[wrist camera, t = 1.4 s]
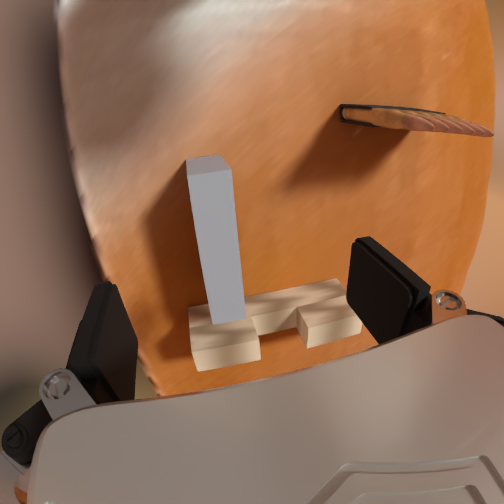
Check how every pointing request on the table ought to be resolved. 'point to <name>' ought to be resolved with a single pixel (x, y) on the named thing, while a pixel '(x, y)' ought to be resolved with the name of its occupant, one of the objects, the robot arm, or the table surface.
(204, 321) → the birch block
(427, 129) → the ammunition clip
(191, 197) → the grey block
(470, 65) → the table surface
